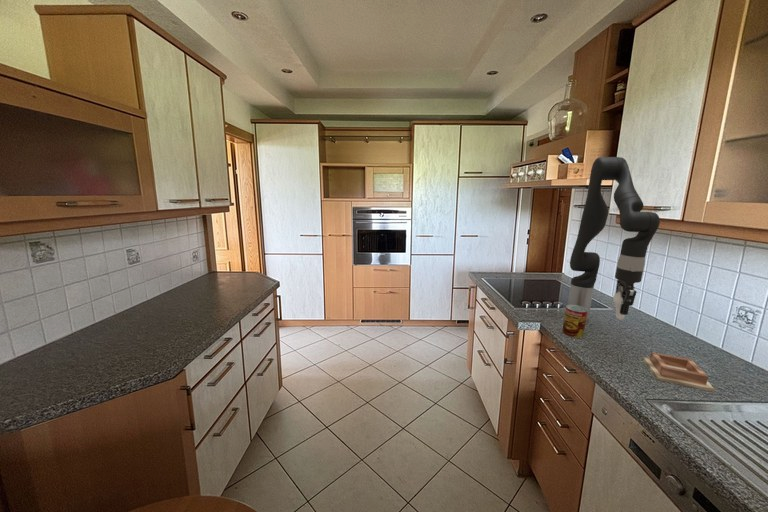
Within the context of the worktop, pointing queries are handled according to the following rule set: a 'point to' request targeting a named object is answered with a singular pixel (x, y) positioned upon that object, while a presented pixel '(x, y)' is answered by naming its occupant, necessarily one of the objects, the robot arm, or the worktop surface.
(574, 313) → the canned food
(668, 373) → the socket stand
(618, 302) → the lightbulb
